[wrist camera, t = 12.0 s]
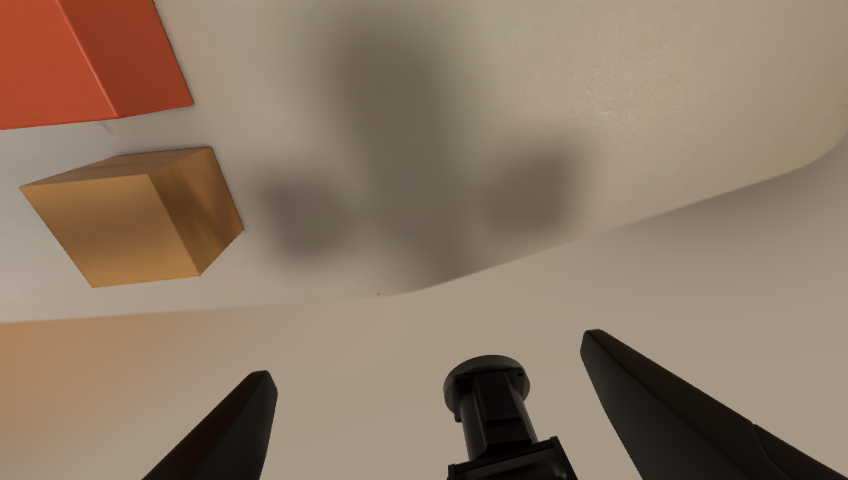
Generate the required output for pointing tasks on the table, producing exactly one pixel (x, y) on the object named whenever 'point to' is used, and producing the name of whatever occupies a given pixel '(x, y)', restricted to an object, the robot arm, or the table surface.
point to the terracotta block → (84, 62)
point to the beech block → (139, 215)
